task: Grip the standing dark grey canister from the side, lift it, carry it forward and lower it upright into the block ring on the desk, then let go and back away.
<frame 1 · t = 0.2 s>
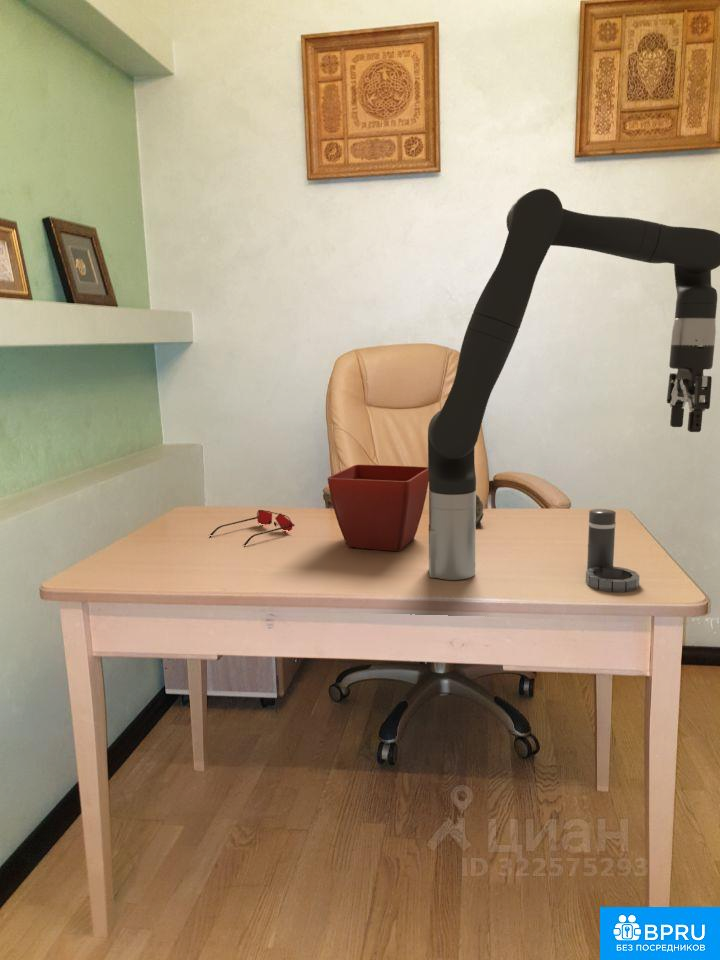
hand: (684, 429, 145), 29 cm above the table, tool pointing down, fingers open, 8 cm apart
dark grey canister: (600, 569, 153), on the table
plant pot: (381, 543, 176), on the table
fossil: (462, 525, 191), on the table
glasses: (251, 537, 185), on the table
block ring: (612, 583, 144), on the table
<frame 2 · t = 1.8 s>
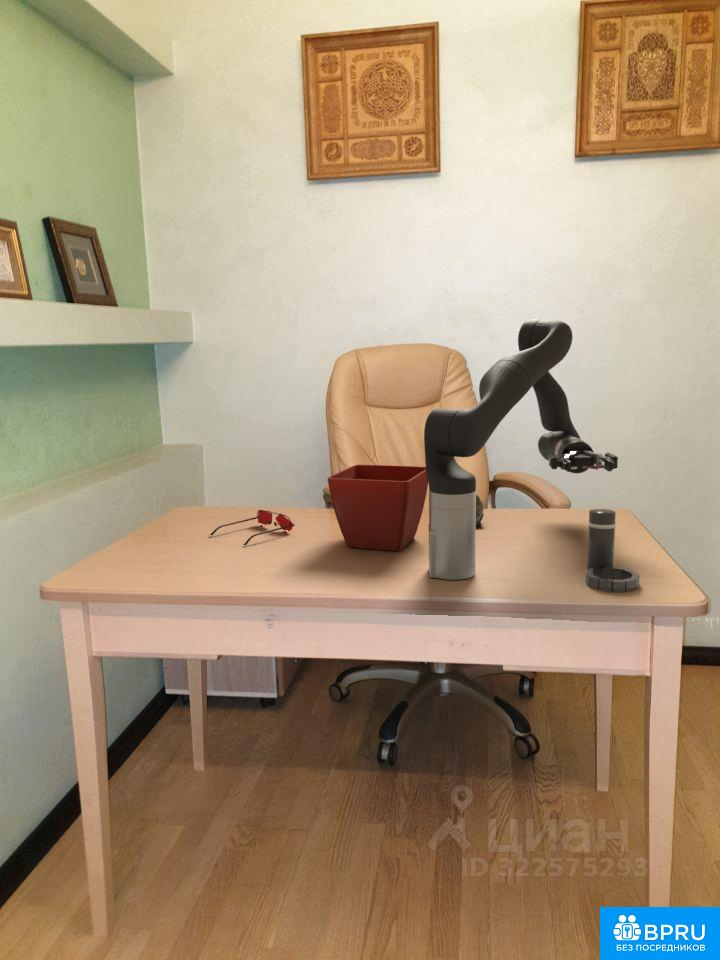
hand: (590, 466, 161), 19 cm above the table, tool horizontal, fingers open, 8 cm apart
nothing on the table moved.
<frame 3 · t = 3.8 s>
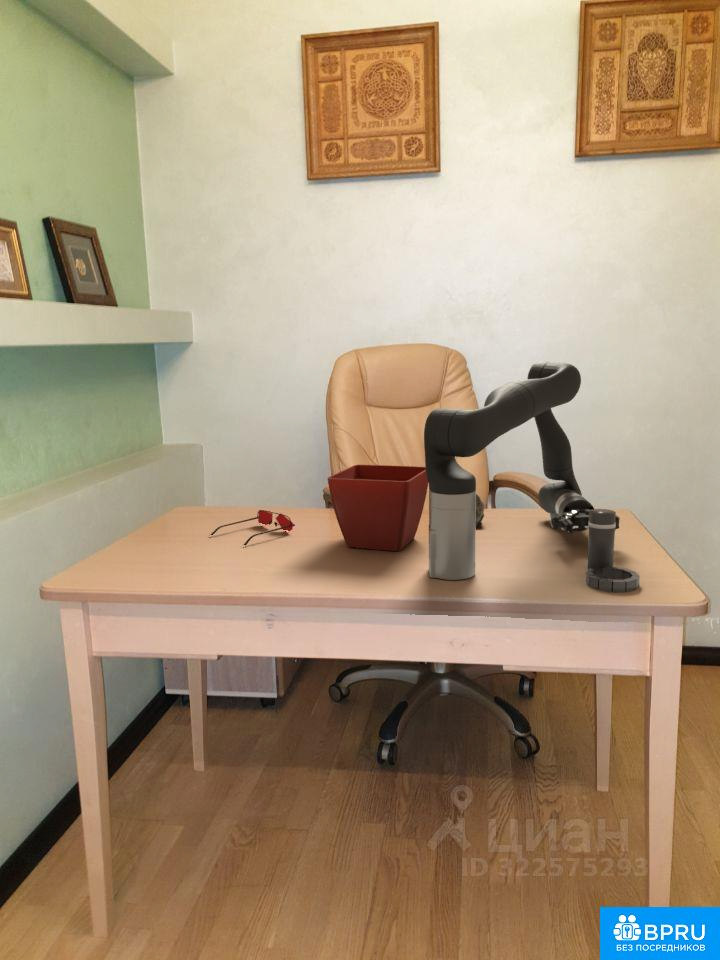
hand: (591, 528, 159), 6 cm above the table, tool horizontal, fingers open, 8 cm apart
nothing on the table moved.
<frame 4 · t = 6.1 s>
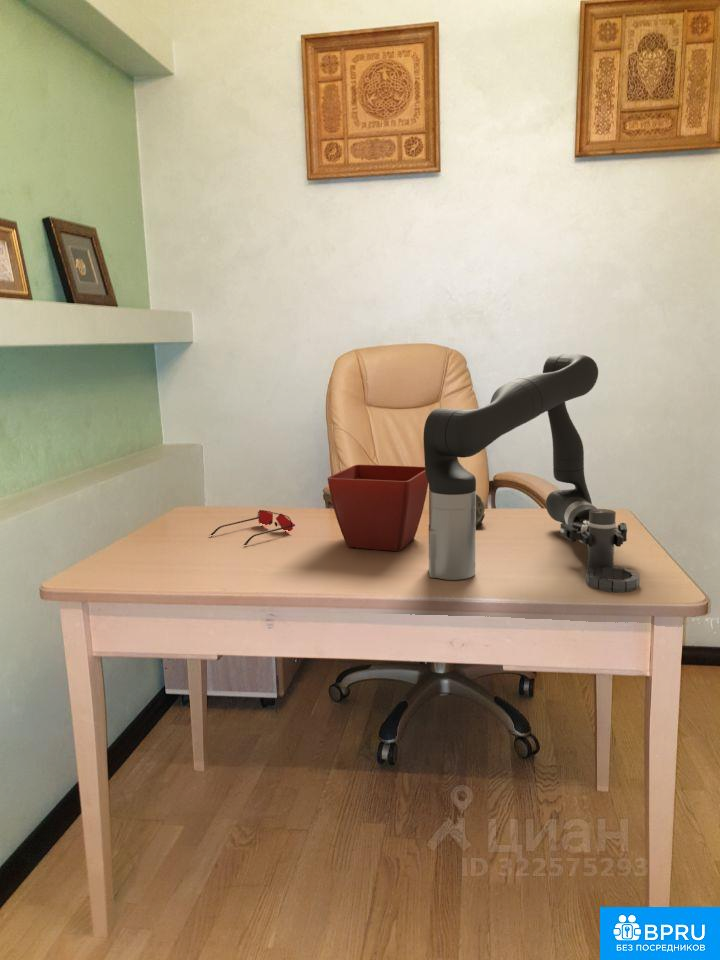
hand: (604, 541, 149), 7 cm above the table, tool horizontal, fingers closed on dark grey canister, 5 cm apart
dark grey canister: (600, 569, 153), on the table, touching gripper
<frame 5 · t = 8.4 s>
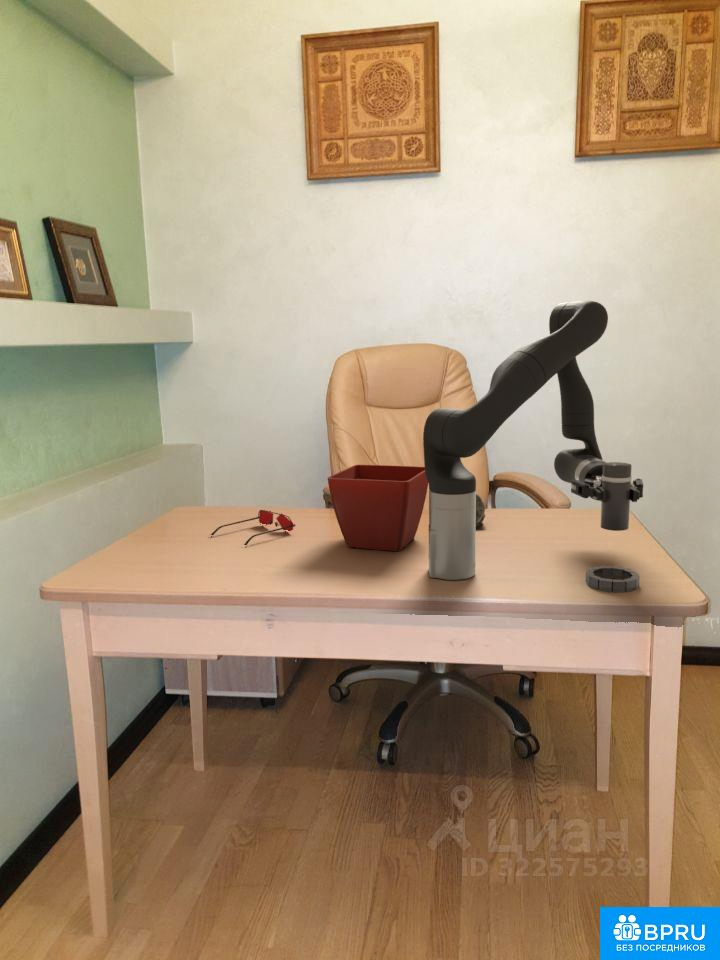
hand: (620, 496, 138), 18 cm above the table, tool horizontal, fingers closed on dark grey canister, 5 cm apart
dark grey canister: (614, 527, 142), point 11 cm above the table, touching gripper
when the fingers open (8 cm above the table, at t = 10.6 s): dark grey canister drops 1 cm, resting in block ring.
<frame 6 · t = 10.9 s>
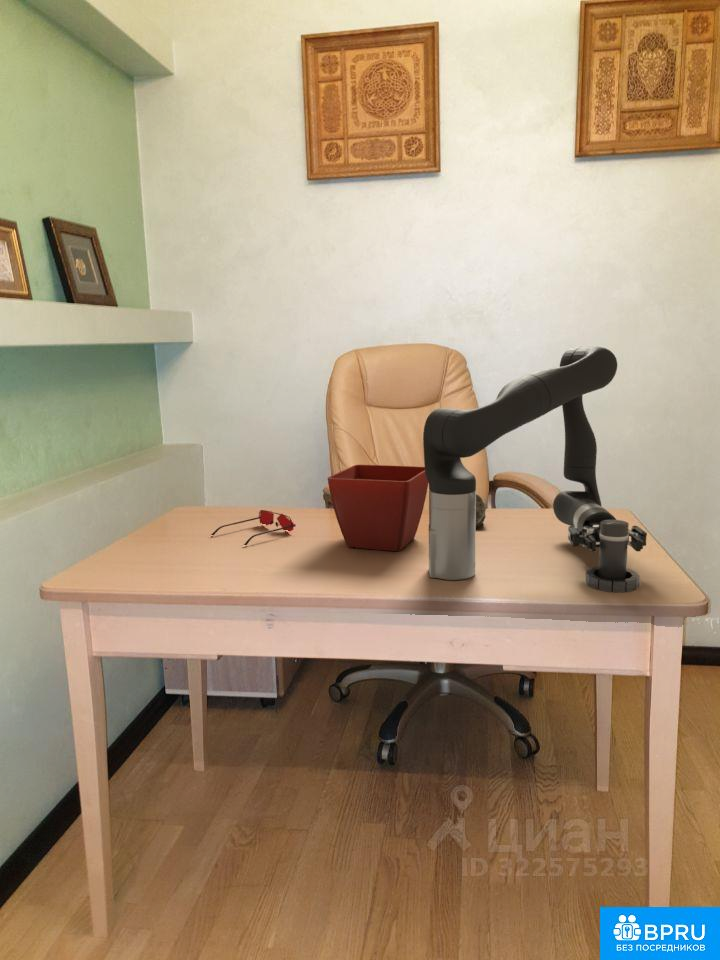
hand: (616, 546, 141), 8 cm above the table, tool horizontal, fingers open, 8 cm apart
dark grey canister: (611, 583, 144), resting in block ring
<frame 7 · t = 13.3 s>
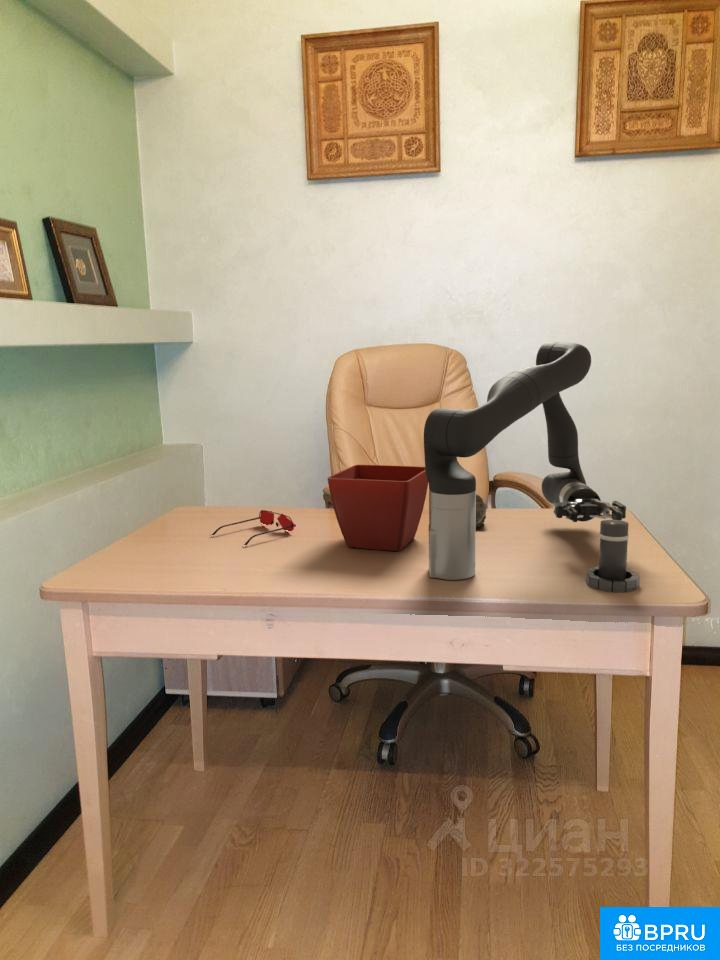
hand: (597, 517, 153), 10 cm above the table, tool horizontal, fingers open, 8 cm apart
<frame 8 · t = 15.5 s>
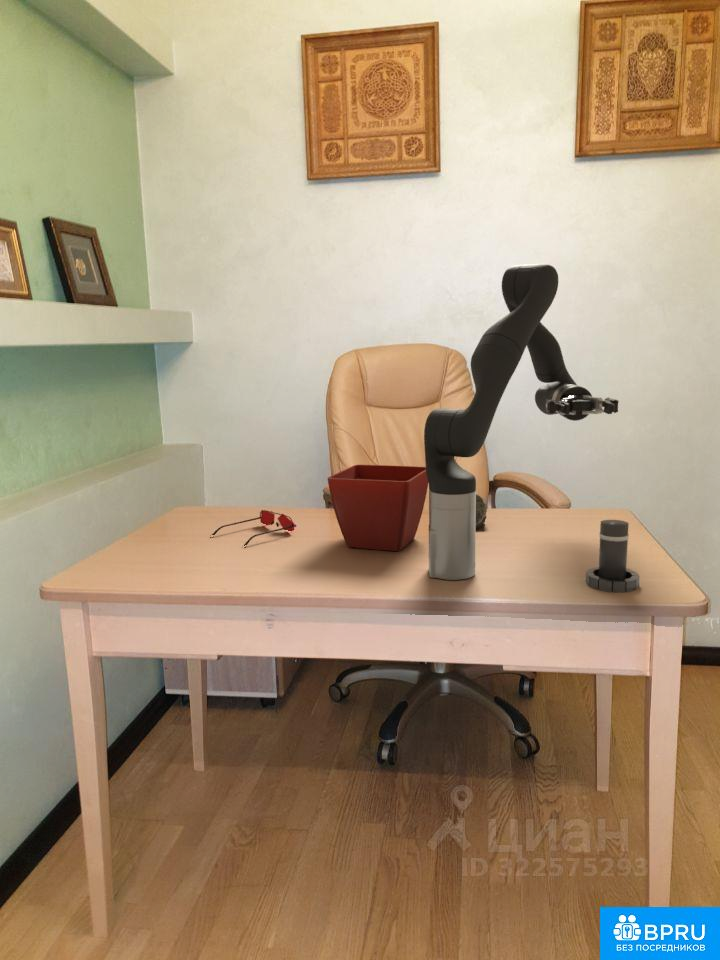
hand: (589, 409, 152), 32 cm above the table, tool horizontal, fingers open, 8 cm apart
at the end: dark grey canister 0.1 cm off-centre on the block ring, point 0.0 cm above the block ring's base; dark grey canister tilted 0°; the gripper is holding nothing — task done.
